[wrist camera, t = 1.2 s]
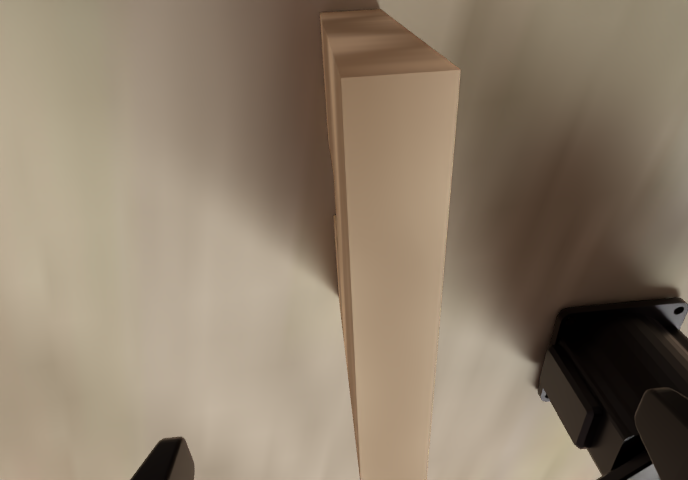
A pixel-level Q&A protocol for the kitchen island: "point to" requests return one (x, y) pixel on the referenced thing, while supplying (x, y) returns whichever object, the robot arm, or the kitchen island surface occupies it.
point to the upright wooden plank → (389, 226)
